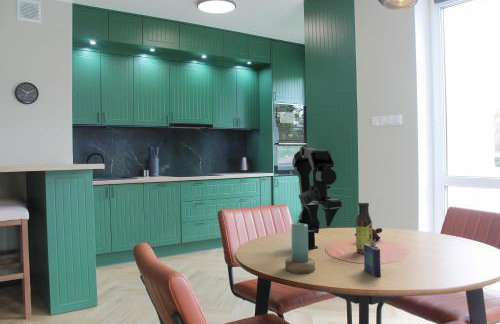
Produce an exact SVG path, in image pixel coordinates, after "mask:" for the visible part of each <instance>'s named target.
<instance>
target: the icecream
mask: <svg viewBox="0 0 500 324" xmlns="http://www.w3.org/2000/svg"><path fill="white" fill-rule="evenodd" d="M382 232H383V229H382V228H381V227H377V228H376V229H375V228H373V227H372V241H379V240H381V236H379V234H380V233H382ZM354 236H355V237H356V233H354Z"/></svg>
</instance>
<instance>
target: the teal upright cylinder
mask: <svg viewBox="0 0 500 324" xmlns="http://www.w3.org/2000/svg"><path fill="white" fill-rule="evenodd" d="M290 227H291V258H292V262H295V263H306V262H308V258H309V249H308V224H305V223H297V222H294V223H291V226H290Z"/></svg>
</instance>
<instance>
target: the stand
mask: <svg viewBox="0 0 500 324" xmlns="http://www.w3.org/2000/svg"><path fill="white" fill-rule="evenodd" d="M284 263H285V271H286V272H288V273H289V274H294V275H295V274H297V275H306V274H312V273H314V272H315V270H316V261H315V259H314V258H310V257H308V262H306V263H295V262H292V257H290V258H287V259H285V262H284Z"/></svg>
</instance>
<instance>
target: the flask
mask: <svg viewBox="0 0 500 324" xmlns="http://www.w3.org/2000/svg"><path fill="white" fill-rule="evenodd" d="M376 241H377V240H374V241H369V242H370V244H364V253H363V270H364V271H365V272H367V274H370V275H371V276H373V278H381V277H382V271H381V270H382V269H381V249H380V248H379V247H378V246H377V245H376Z"/></svg>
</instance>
